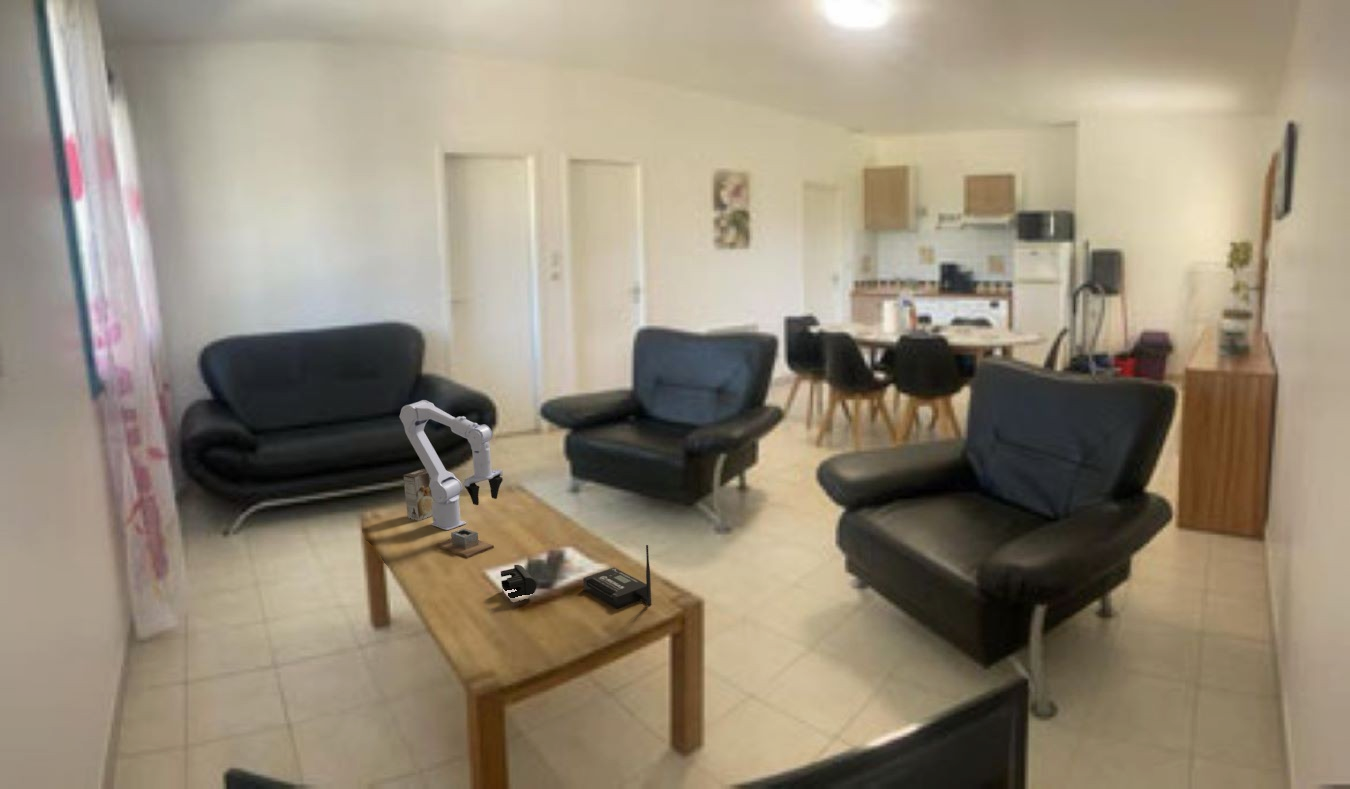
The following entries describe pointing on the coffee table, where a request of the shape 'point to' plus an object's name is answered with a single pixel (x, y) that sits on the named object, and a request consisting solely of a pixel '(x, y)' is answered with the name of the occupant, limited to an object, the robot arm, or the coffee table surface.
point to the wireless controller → (619, 587)
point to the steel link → (464, 538)
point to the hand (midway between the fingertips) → (485, 501)
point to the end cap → (518, 582)
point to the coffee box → (418, 494)
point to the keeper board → (468, 552)
